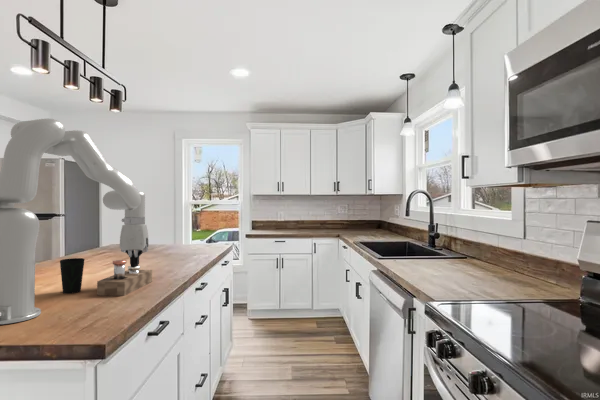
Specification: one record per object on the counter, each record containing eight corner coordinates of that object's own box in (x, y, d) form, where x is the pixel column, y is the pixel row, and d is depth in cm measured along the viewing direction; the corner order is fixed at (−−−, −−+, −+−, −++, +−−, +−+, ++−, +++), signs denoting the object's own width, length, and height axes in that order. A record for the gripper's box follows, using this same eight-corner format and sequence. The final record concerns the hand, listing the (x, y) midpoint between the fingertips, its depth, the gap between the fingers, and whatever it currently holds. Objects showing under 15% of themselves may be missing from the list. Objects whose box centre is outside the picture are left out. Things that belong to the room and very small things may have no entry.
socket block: (124, 295, 124) (124, 281, 124) (97, 295, 124) (97, 281, 124) (152, 281, 146) (152, 269, 146) (128, 281, 146) (128, 269, 146)
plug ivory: (136, 285, 138) (136, 267, 138) (125, 284, 138) (125, 267, 138) (142, 282, 143) (142, 265, 143) (131, 282, 143) (131, 265, 143)
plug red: (122, 280, 127) (122, 262, 127) (109, 280, 127) (110, 261, 127) (128, 278, 132) (128, 259, 132) (116, 278, 132) (116, 259, 132)
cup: (71, 295, 124) (72, 261, 124) (54, 293, 125) (54, 260, 125) (88, 290, 131) (89, 258, 132) (72, 288, 133) (72, 257, 133)
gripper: (111, 222, 137) (111, 268, 137) (148, 222, 137) (148, 268, 137) (121, 220, 145) (121, 264, 145) (157, 221, 144) (156, 264, 144)
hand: (134, 266), depth 141 cm, fingers closed
